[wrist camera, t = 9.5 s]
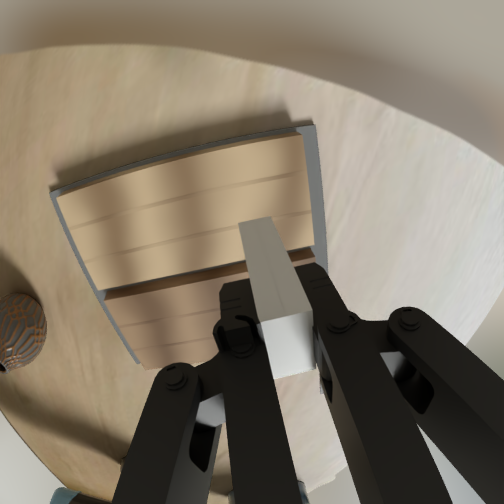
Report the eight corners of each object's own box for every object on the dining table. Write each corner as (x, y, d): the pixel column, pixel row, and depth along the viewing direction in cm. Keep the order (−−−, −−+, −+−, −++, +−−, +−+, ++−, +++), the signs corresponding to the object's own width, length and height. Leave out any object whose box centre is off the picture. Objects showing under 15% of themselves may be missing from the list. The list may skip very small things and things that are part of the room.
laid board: (146, 359, 32) (145, 369, 31) (107, 290, 27) (103, 301, 25) (316, 327, 32) (320, 337, 31) (310, 248, 27) (315, 257, 26)
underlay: (137, 361, 32) (136, 363, 32) (51, 191, 22) (49, 193, 21) (328, 325, 33) (329, 327, 32) (313, 124, 22) (315, 124, 22)
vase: (65, 318, 28) (39, 381, 21) (35, 337, 29) (10, 393, 22) (22, 272, 25) (-17, 330, 18) (-4, 297, 26) (-37, 350, 19)
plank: (102, 280, 26) (98, 290, 25) (63, 191, 21) (55, 198, 20) (309, 236, 26) (314, 244, 25) (296, 131, 22) (302, 134, 20)
